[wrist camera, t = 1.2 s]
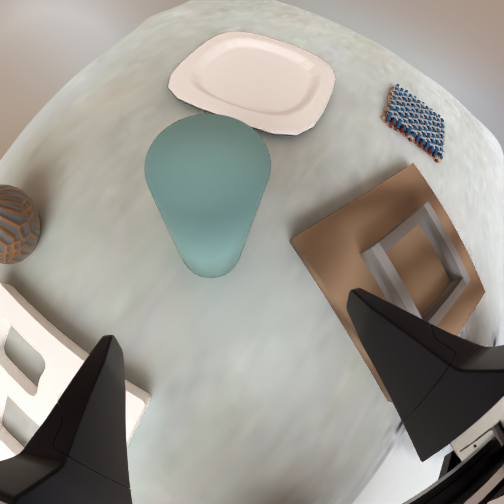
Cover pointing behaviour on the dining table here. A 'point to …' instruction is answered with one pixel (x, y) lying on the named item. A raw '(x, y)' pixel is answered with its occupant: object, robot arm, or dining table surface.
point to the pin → (208, 187)
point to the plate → (255, 82)
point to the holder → (56, 369)
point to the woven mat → (415, 122)
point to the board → (393, 256)
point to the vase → (17, 225)
